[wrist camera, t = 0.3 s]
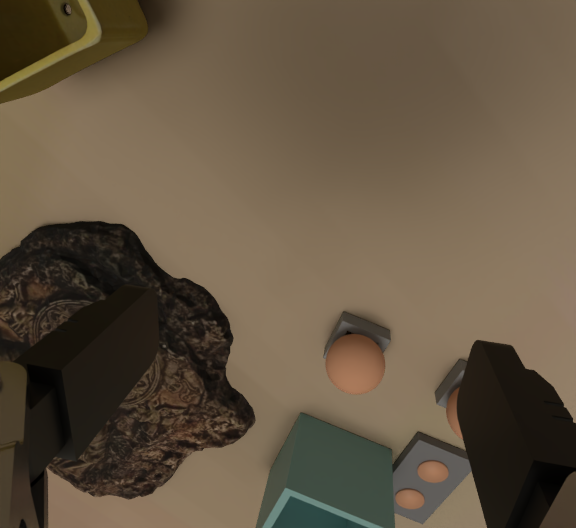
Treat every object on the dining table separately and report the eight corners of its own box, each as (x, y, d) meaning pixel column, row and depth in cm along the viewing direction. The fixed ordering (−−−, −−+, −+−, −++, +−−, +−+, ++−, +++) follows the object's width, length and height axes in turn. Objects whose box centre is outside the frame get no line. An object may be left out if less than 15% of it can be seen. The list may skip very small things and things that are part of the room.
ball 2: (460, 363, 30) (472, 404, 26) (513, 384, 30) (532, 429, 26) (432, 401, 32) (439, 444, 28) (482, 421, 32) (495, 467, 28)
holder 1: (343, 311, 30) (342, 320, 29) (389, 330, 30) (390, 340, 29) (324, 347, 32) (323, 357, 31) (368, 365, 32) (368, 376, 31)
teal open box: (300, 412, 36) (285, 487, 29) (391, 449, 36) (395, 532, 29) (270, 470, 39) (250, 547, 33) (351, 503, 39) (347, 587, 33)
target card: (418, 431, 34) (419, 441, 33) (475, 455, 34) (478, 466, 33) (370, 494, 38) (370, 504, 38) (421, 515, 38) (422, 526, 37)
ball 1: (341, 314, 30) (336, 349, 26) (394, 336, 30) (397, 373, 26) (320, 355, 32) (313, 393, 28) (369, 375, 32) (369, 416, 28)
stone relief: (-132, 379, 38) (26, 163, 25) (-84, 349, 42) (72, 148, 29) (92, 547, 44) (310, 436, 31) (115, 506, 47) (317, 394, 35)
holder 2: (459, 359, 30) (462, 369, 29) (506, 378, 30) (510, 389, 29) (434, 392, 32) (436, 404, 31) (478, 410, 32) (482, 423, 31)
